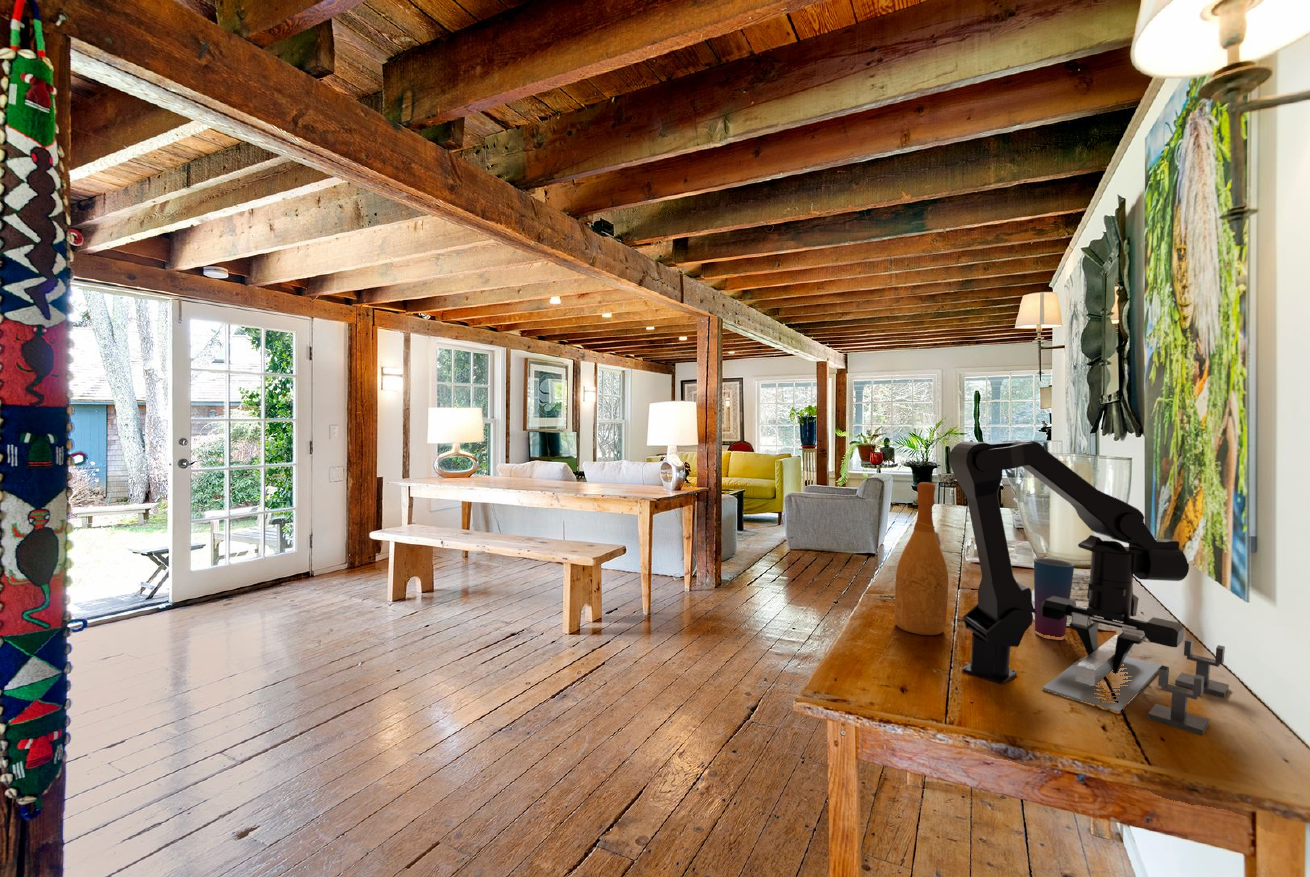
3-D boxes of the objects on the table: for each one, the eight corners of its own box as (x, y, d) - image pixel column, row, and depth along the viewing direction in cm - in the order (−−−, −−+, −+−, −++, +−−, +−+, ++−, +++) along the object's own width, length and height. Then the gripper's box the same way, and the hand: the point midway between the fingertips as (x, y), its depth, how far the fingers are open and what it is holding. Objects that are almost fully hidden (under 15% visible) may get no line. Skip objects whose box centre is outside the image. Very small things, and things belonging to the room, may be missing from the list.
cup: (1076, 643, 120) (1080, 567, 119) (1037, 640, 121) (1042, 564, 121) (1060, 632, 127) (1065, 559, 126) (1024, 628, 128) (1028, 557, 127)
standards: (1202, 735, 85) (1205, 684, 85) (1147, 718, 90) (1151, 669, 90) (1228, 689, 101) (1231, 645, 101) (1181, 676, 106) (1183, 635, 105)
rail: (1094, 686, 95) (1095, 670, 95) (1075, 680, 97) (1076, 664, 97) (1131, 652, 110) (1132, 638, 110) (1114, 648, 112) (1115, 634, 112)
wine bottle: (952, 639, 120) (960, 486, 119) (899, 635, 122) (906, 483, 121) (937, 623, 130) (944, 480, 129) (888, 619, 132) (895, 478, 130)
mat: (1119, 714, 91) (1119, 711, 91) (1042, 690, 98) (1042, 687, 98) (1161, 668, 109) (1161, 665, 109) (1094, 650, 117) (1094, 648, 117)
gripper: (1193, 583, 101) (1186, 677, 102) (1062, 560, 115) (1057, 643, 116) (1179, 594, 94) (1172, 695, 95) (1041, 568, 108) (1036, 656, 109)
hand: (1105, 670), depth 104 cm, fingers closed on rail, 2 cm apart
